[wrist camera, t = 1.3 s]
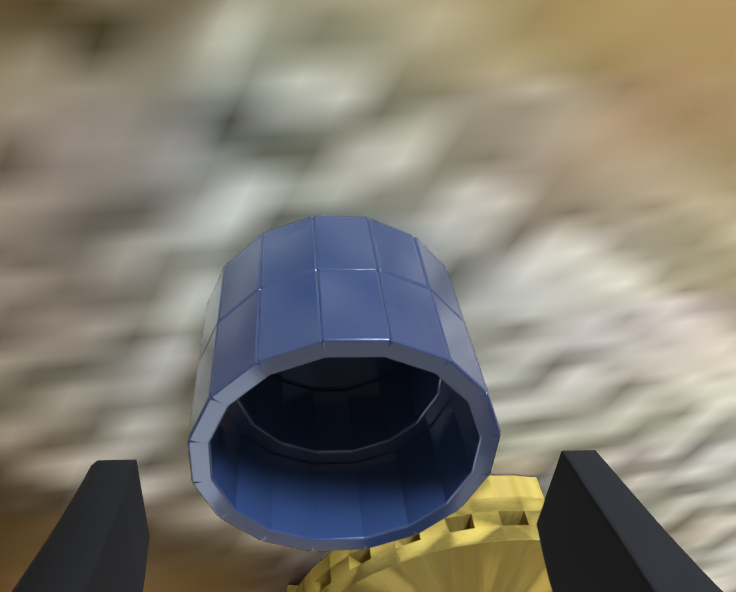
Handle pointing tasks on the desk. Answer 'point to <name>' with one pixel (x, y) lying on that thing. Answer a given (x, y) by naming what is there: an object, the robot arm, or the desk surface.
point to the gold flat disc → (452, 550)
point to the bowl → (338, 390)
